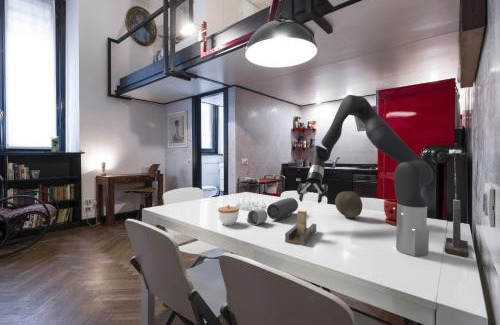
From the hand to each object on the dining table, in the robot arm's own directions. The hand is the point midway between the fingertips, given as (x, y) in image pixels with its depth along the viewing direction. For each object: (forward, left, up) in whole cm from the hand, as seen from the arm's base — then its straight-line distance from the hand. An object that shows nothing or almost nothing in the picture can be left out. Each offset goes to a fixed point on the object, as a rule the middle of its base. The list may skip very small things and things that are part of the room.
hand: (309, 201), depth 117 cm
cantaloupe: (+16, -31, -14) cm, 38 cm away
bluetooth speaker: (+24, +5, -14) cm, 28 cm away
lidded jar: (+17, +37, -14) cm, 43 cm away
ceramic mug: (+15, +23, -14) cm, 31 cm away
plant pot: (0, -49, -14) cm, 51 cm away
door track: (-9, +8, -13) cm, 18 cm away
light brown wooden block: (-9, +8, -12) cm, 17 cm away
